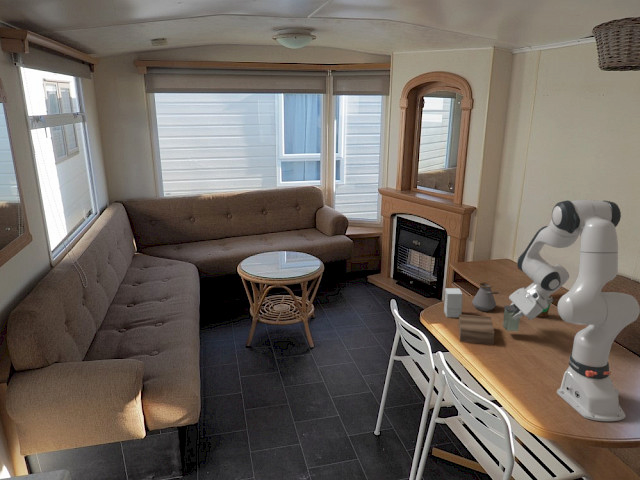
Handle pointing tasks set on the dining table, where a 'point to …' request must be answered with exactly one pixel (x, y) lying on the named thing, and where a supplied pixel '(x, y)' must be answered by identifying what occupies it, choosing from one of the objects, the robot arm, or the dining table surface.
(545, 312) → the food container
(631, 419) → the dining table surface
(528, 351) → the dining table surface
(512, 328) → the sage tea tin
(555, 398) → the dining table surface
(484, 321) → the walnut box
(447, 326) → the dining table surface
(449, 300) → the supplement box
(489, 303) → the coffee pot
